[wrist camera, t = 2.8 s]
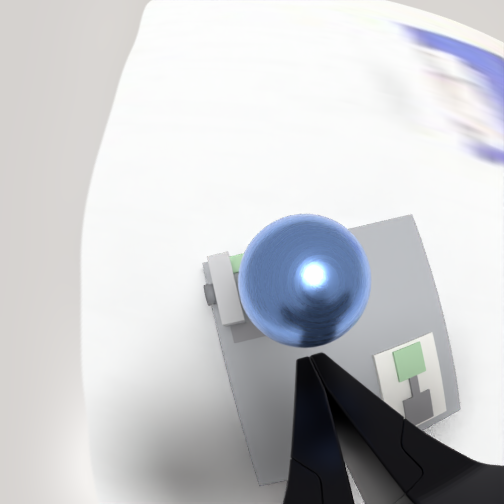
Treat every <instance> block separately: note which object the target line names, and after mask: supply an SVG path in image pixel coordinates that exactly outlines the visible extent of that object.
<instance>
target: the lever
mask: <svg viewBox="0 0 504 504" xmlns="http://www.w3.org/2000/svg"><path fill="white" fill-rule="evenodd" d="M238 290H239V296H240V300H241V303H242V306H243V308H244V310H245V312H246V314H247V316H248V317H249V319H250V320H251V322H252V323H253V324H254V325H255V326H256V328H257V329H259V330H260V331H261V332H262V333H263V334H264V335H266V336H267V337H269V338H270V339H272V340H274V341H276V342H278V343H280V344H283V345H286V346H291V347H297V348H311V347H318V346H322V345H325V344H328V343H331V342H333V341H335V340H336V339H338V338H340V337H341V336H343V335H344V334H345V333H347V332H348V331H349V330H350V329H351V328H352V327H353V326H354V325H355V324H356V323H357V321H358V320H359V319H360V317H361V316H362V314H363V312H364V310H365V308H366V306H367V303H368V300H369V296H370V291H371V270H370V264H369V261H368V258H367V255H366V253H365V251H364V249H363V247H362V245H361V244H360V242H359V241H358V240H357V238H356V237H355V236H354V235H353V234H352V233H351V232H350V231H349V230H348V229H346V228H345V227H344V226H342V225H341V224H339V223H338V222H336V221H334V220H332V219H329V218H327V217H323V216H320V215H313V214H297V215H290V216H287V217H284V218H281V219H279V220H276V221H274V222H273V223H271V224H269V225H268V226H266V227H265V228H264V229H263V230H261V231H260V232H259V233H258V234H257V235H256V236H255V237H254V238H253V240H252V241H251V242H250V244H249V245H248V247H247V249H246V251H245V252H244V255H243V257H242V260H241V263H240V267H239V273H238Z"/></svg>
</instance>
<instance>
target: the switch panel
mask: <svg viewBox="0 0 504 504" xmlns="http://www.w3.org/2000/svg"><path fill="white" fill-rule="evenodd" d="M348 230H349V231H350V232H351V233H352V234H353V235H354V236H355V237H356V238H357V240H358V241H359V242H360V244H361V245H362V247H363V249H364V251H365V253H366V255H367V258H368V261H369V264H370V270H371V291H370V296H369V300H368V303H367V306H366V308H365V310H364V312H363V314H362V316H361V317H360V319H359V320H358V321H357V323H356V324H355V325H354V326H353V327H352V328H351V329H350V330H349V331H348V332H347V333H345V334H344V335H343V336H341V337H340V338H338V339H336V340H335V341H333V342H331V343H328V344H325V345H322V346H318V347H311V348H297V347H291V346H286V345H283V344H280V343H278V342H276V341H274V340H272V339H270V338H269V337H267V336H266V335H264V334H263V333H262V332H261V331H260V330H259V329H257V328H256V326H255V325H254V324H253V323H252V322H251V320H250V319H249V317H248V316H247V314H246V312H245V310H244V308H243V306H242V303H241V300H240V296H239V290H238V273H239V267H240V263H241V260H242V257H243V255H244V253H243V254H239V255H235V256H230V257H229V253H228V252H224V253H220V254H216V255H211V256H207V259H208V262H205V263H203V268H204V273H205V278H206V282H207V285H204V291H205V296H206V300H207V303H208V305H212V309H213V314H214V318H215V322H216V326H217V331H218V335H219V339H220V343H221V347H222V352H223V356H224V360H225V364H226V368H227V372H228V376H229V379H230V383H231V387H232V391H233V395H234V399H235V402H236V406H237V410H238V413H239V417H240V421H241V424H242V428H243V432H244V435H245V439H246V442H247V446H248V449H249V452H250V456H251V459H252V463H253V466H254V469H255V473H256V476H257V479H258V482H259V486H263V485H268V484H272V483H277V482H281V481H285V480H288V472H289V461H290V451H291V437H292V423H293V408H294V390H295V370H296V360H297V359H299V358H303V357H306V356H309V357H310V356H311V355H313V354H317V353H320V352H323V353H325V354H326V355H327V356H329V357H330V358H331V359H332V360H333V361H335V362H336V363H337V364H338V365H340V366H341V367H342V368H343V369H344V370H346V371H347V372H348V373H349V374H351V375H352V376H353V377H354V378H356V379H357V380H358V381H359V382H361V383H362V384H363V385H364V386H366V387H367V388H368V389H369V390H371V391H372V392H373V393H374V394H376V395H377V396H378V397H379V398H381V399H382V400H383V401H384V402H386V403H387V404H388V405H389V406H391V407H392V408H393V409H395V410H396V411H397V412H398V413H400V414H401V415H402V416H403V417H404V419H405V418H406V419H408V420H409V421H410V422H411V423H413V424H414V425H415V426H417V427H418V428H419V429H421V430H424V429H426V428H428V427H430V426H431V425H433V424H435V423H437V422H439V421H441V420H443V419H445V418H446V417H448V416H450V415H452V414H453V413H455V412H457V411H459V410H460V401H459V393H458V386H457V380H456V374H455V368H454V362H453V357H452V351H451V346H450V342H449V337H448V332H447V328H446V324H445V319H444V315H443V311H442V307H441V303H440V300H439V296H438V292H437V289H436V285H435V282H434V278H433V275H432V271H431V268H430V265H429V262H428V259H427V255H426V252H425V249H424V246H423V243H422V241H421V238H420V235H419V232H418V229H417V226H416V224H415V221H414V218H413V216H412V214H411V215H406V216H402V217H398V218H393V219H389V220H385V221H380V222H376V223H372V224H368V225H363V226H359V227H355V228H350V229H348ZM344 462H345V461H344Z"/></svg>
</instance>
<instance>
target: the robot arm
mask: <svg viewBox="0 0 504 504" xmlns="http://www.w3.org/2000/svg"><path fill="white" fill-rule="evenodd" d="M344 461H345V462H344ZM345 463H346V465H347V467H348V469H349V471H350V473H351V475H352V477H353V479H354V482H355V484H356V486H357V488H358V490H359V492H360V494H361V496H362V498H363V500H364V502H365V504H504V466H500V465H490V464H484V463H480V462H477V461H475V460H473V459H471V458H469V457H467V456H465V455H463V454H461V453H459V452H457V451H456V450H454V449H452V448H450V447H448V446H447V445H445V444H443V443H441V442H440V441H438V440H436V439H435V438H433V437H431V436H430V435H428V434H426V433H425V432H424V431H422V430H421V429H419V428H418V427H417V426H415V425H414V424H413V423H411V422H410V421H409V420H408V419H406V418H405V419H404V417H403V416H402V415H401V414H400V413H398V412H397V411H396V410H395V409H393V408H392V407H391V406H389V405H388V404H387V403H386V402H384V401H383V400H382V399H381V398H379V397H378V396H377V395H376V394H374V393H373V392H372V391H371V390H369V389H368V388H367V387H366V386H364V385H363V384H362V383H361V382H359V381H358V380H357V379H356V378H354V377H353V376H352V375H351V374H349V373H348V372H347V371H346V370H344V369H343V368H342V367H341V366H340V365H338V364H337V363H336V362H335V361H333V360H332V359H331V358H330V357H329V356H327V355H326V354H325V353H323V352H320V353H317V354H313V355H311V356H310V357H309V356H306V357H303V358H299V359H297V360H296V370H295V390H294V408H293V423H292V437H291V451H290V461H289V472H288V480H287V487H286V492H285V496H284V500H283V504H354V500H353V496H352V491H351V487H350V483H349V479H348V475H347V471H346V467H345Z"/></svg>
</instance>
